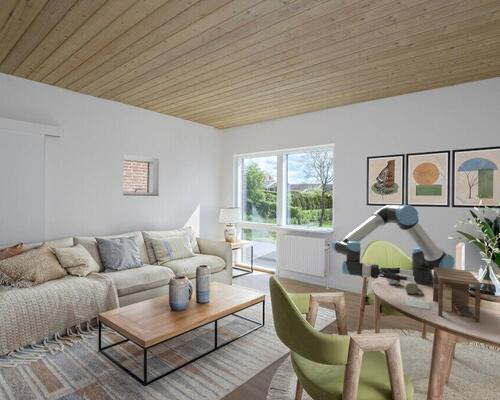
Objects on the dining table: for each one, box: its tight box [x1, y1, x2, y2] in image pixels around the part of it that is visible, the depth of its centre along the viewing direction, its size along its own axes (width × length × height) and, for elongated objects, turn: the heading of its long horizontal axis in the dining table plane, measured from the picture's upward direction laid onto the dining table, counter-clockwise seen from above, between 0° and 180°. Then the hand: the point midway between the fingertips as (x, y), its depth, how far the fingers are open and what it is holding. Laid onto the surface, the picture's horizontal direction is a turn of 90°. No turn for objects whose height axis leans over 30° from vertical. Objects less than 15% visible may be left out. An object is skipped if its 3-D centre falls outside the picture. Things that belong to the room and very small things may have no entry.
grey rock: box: [385, 274, 402, 286], centre depth 195 cm, size 8×9×10 cm
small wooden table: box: [432, 267, 482, 324], centre depth 151 cm, size 25×16×18 cm, turn 154°
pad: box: [404, 298, 431, 310], centre depth 159 cm, size 12×11×1 cm
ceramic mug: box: [403, 281, 425, 296], centre depth 178 cm, size 10×8×7 cm
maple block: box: [437, 284, 452, 312], centre depth 153 cm, size 5×5×12 cm
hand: (413, 276), depth 159 cm, fingers open, 13 cm apart
